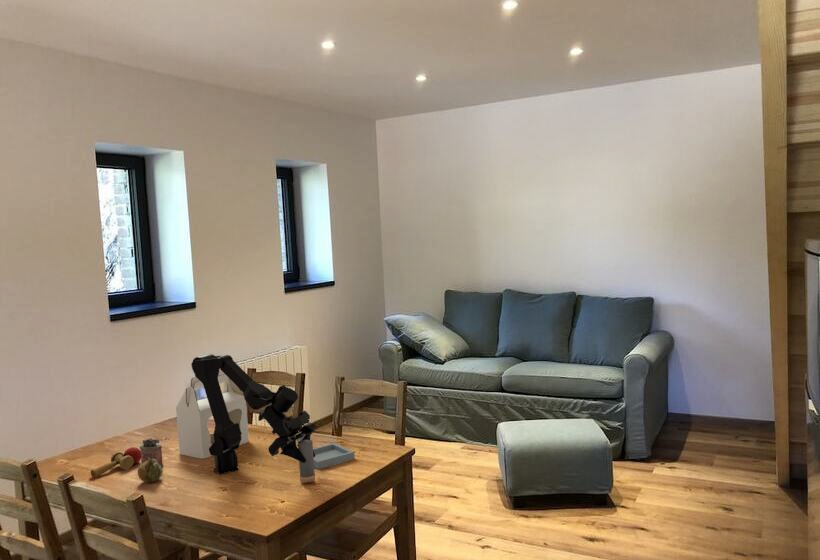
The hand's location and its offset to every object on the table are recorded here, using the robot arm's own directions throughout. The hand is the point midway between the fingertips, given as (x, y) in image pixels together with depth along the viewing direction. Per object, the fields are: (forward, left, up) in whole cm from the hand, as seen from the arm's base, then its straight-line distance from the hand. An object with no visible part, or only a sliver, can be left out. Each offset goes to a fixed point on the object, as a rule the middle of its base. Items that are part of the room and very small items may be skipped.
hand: (309, 459), depth 208 cm
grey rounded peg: (-1, +1, -7) cm, 7 cm away
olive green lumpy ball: (-38, +39, -8) cm, 55 cm away
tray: (+14, +16, -7) cm, 23 cm away
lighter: (-34, +53, -8) cm, 63 cm away
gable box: (-10, +58, -8) cm, 60 cm away
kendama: (-43, +60, -8) cm, 74 cm away
